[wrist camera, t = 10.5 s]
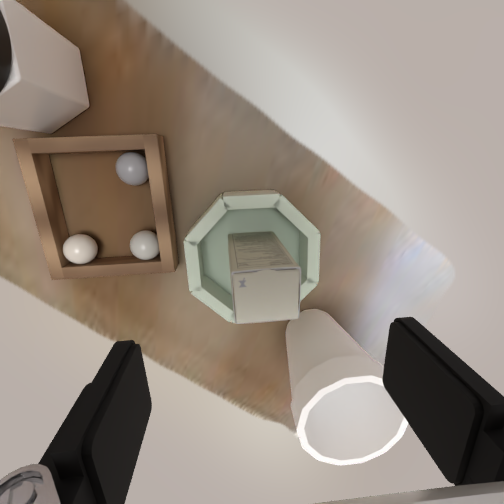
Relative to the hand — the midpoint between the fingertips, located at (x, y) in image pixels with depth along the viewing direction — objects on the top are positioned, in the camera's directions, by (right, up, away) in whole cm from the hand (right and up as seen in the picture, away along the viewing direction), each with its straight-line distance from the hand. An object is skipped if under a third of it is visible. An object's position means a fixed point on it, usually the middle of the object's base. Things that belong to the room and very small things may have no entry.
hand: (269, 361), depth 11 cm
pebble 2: (-12, +12, +17) cm, 24 cm away
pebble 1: (-18, +3, +18) cm, 26 cm away
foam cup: (+7, -6, +25) cm, 26 cm away
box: (-1, +4, +21) cm, 21 cm away
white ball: (-11, +5, +20) cm, 23 cm away
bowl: (-1, +4, +21) cm, 21 cm away
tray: (-15, +9, +18) cm, 25 cm away
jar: (-19, +19, +15) cm, 31 cm away
